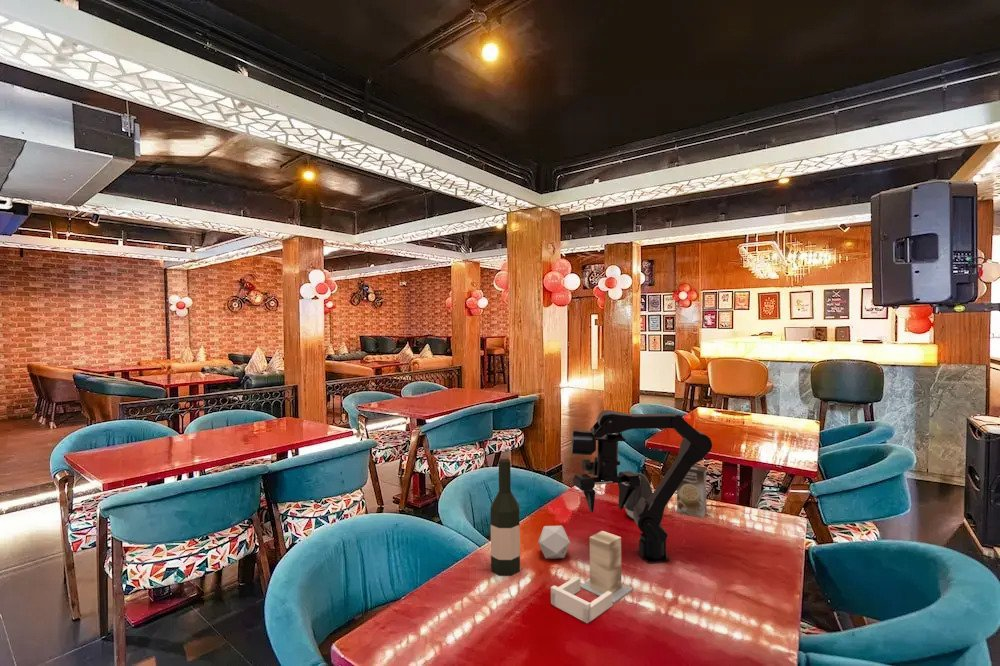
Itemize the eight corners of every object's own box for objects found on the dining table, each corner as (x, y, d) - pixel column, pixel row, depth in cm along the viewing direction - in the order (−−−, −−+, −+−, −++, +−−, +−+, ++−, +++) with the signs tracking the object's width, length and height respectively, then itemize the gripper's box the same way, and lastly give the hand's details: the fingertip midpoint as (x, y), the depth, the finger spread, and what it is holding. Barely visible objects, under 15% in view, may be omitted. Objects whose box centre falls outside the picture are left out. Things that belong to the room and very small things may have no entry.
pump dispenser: (617, 514, 165) (617, 470, 165) (643, 510, 169) (643, 467, 169) (634, 525, 156) (633, 479, 156) (661, 521, 159) (660, 476, 159)
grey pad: (599, 574, 124) (599, 573, 124) (633, 589, 117) (633, 588, 117) (579, 587, 118) (579, 585, 118) (614, 603, 111) (614, 602, 111)
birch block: (602, 579, 121) (602, 530, 121) (621, 587, 117) (621, 537, 117) (590, 587, 118) (589, 537, 118) (608, 596, 114) (608, 544, 114)
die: (561, 569, 129) (578, 534, 132) (532, 550, 130) (550, 517, 133) (557, 566, 137) (573, 533, 140) (530, 548, 138) (547, 517, 141)
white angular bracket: (576, 588, 118) (576, 572, 118) (612, 605, 110) (612, 588, 110) (551, 604, 111) (550, 587, 111) (587, 623, 104) (587, 605, 104)
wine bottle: (525, 564, 130) (524, 455, 130) (513, 578, 123) (512, 463, 123) (498, 558, 134) (497, 452, 134) (485, 572, 126) (483, 459, 126)
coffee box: (676, 513, 166) (675, 467, 166) (679, 507, 171) (679, 462, 171) (704, 518, 161) (703, 471, 161) (707, 512, 166) (706, 466, 166)
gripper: (621, 447, 145) (620, 498, 145) (565, 450, 140) (564, 503, 140) (642, 456, 134) (640, 511, 134) (582, 460, 129) (581, 517, 129)
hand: (606, 510), depth 135 cm, fingers open, 9 cm apart
